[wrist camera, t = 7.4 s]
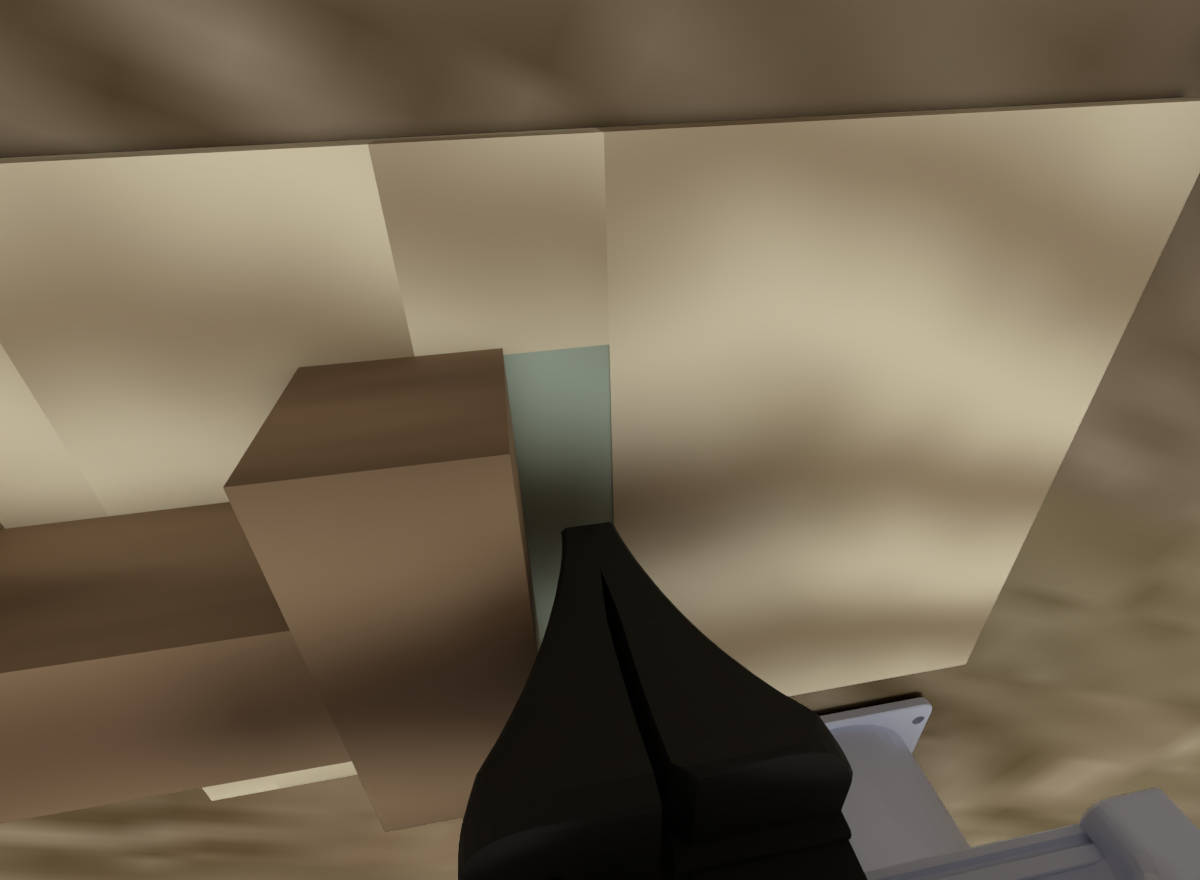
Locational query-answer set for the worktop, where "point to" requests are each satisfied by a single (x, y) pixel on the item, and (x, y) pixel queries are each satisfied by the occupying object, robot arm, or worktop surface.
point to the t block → (286, 608)
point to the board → (626, 340)
